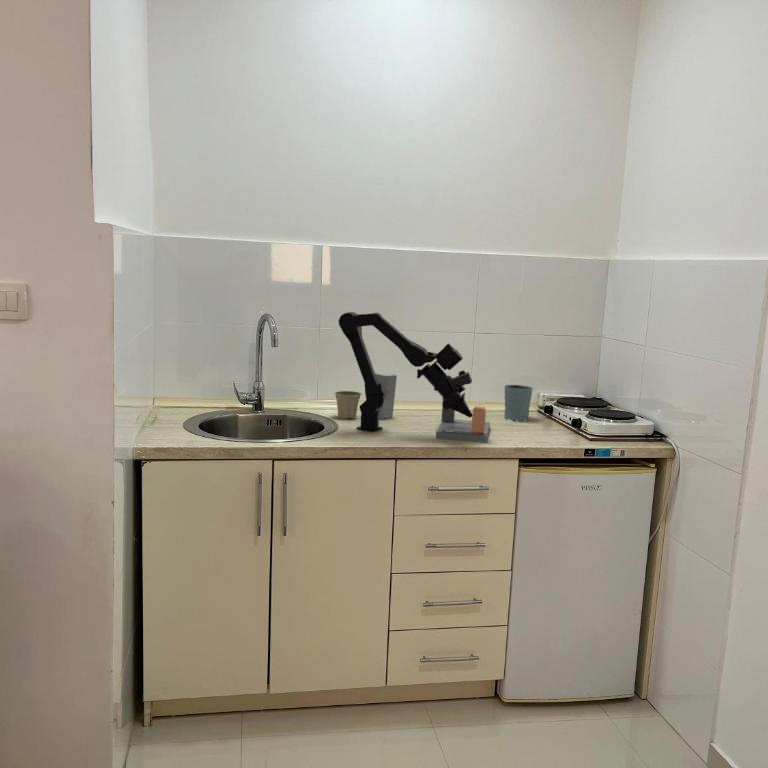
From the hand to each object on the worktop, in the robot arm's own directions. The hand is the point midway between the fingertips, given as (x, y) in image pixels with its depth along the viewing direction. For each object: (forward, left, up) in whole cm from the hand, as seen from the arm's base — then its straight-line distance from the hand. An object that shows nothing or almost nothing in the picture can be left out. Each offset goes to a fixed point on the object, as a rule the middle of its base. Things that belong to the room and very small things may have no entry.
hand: (471, 416), depth 244 cm
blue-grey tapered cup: (+41, 0, -7) cm, 41 cm away
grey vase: (+9, +39, -7) cm, 41 cm away
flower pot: (0, +47, -7) cm, 47 cm away
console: (+6, +5, -7) cm, 10 cm away
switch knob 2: (+1, -2, -5) cm, 5 cm away
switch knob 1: (+10, +13, -5) cm, 17 cm away
